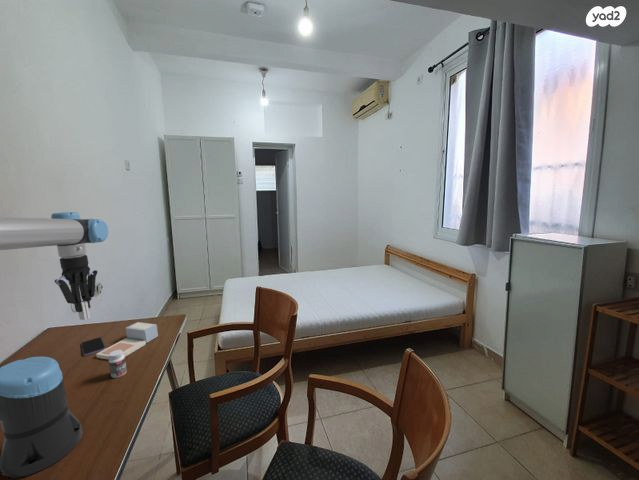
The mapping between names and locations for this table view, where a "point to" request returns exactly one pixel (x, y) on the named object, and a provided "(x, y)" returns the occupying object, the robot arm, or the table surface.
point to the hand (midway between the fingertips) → (85, 318)
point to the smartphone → (92, 346)
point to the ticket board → (122, 347)
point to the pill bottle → (117, 364)
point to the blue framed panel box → (142, 331)
